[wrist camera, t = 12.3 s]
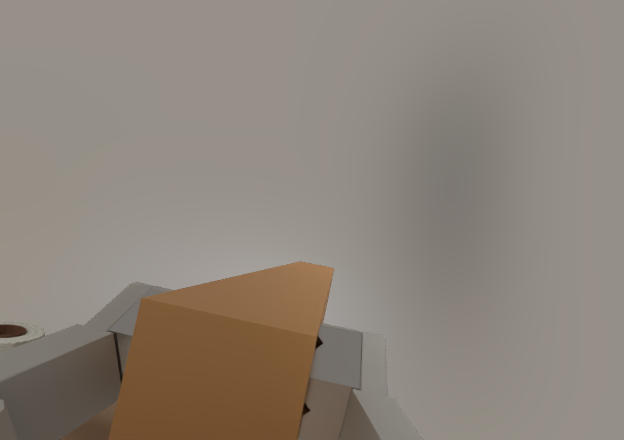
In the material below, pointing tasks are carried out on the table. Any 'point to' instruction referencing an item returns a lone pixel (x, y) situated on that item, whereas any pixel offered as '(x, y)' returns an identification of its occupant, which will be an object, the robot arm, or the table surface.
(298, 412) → the batten
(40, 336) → the paper towel roll
